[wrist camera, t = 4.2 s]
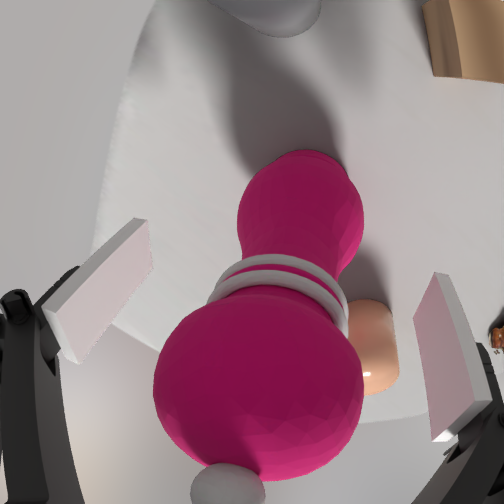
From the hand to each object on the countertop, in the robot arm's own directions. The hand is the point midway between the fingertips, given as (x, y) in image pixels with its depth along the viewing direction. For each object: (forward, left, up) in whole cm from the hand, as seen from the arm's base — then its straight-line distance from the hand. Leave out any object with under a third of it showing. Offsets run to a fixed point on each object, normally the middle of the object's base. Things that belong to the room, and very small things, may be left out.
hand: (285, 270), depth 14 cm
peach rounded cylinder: (-7, +11, -10) cm, 16 cm away
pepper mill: (0, 0, -10) cm, 10 cm away
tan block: (-9, -13, -10) cm, 19 cm away
